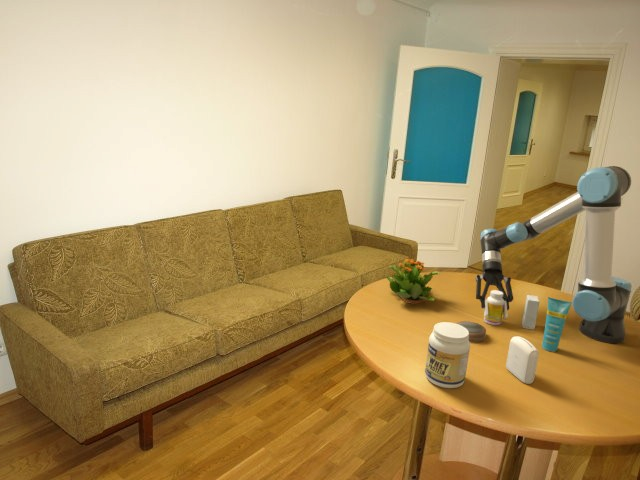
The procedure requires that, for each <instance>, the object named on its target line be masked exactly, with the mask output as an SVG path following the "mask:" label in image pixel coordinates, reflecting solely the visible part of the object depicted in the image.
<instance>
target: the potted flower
mask: <svg viewBox="0 0 640 480" xmlns="http://www.w3.org/2000/svg"><path fill="white" fill-rule="evenodd" d="M424 264H425V263H424V262H422V261H420V260H417V261H415V259H413V258H411V259H408V258H407V259H404V262H403V263H398V266H397V265H396V264H393V265H391V264H389V266H388V269H391V270H394V271H395V272H396V273H395V274H392V275H391V277H389V276H388V275H386V274H385V275H384V276H385V278H386V280H387V281H389V288H390V290H391V291H392V292H393V293H395V294H396V295H397V296H398V297H400V298H401V299H402V301H404V302H406V301H407V303H409V302H410V304H419V303H422V302H423V301H435V297H433V296H432V295H430V296H428V297H425V296H427V295H428V294H430V292H431V291H432V289H433V288H432V287H431V286H427V284H429V282H431V280H432V279H433V277H434V276H435V275H440V274H441V272H440V271H438V270H435V271H433V272H430V273H428V274H424V275H422V274H421V273H424V271H425V270H426V268H425V265H424ZM402 269H403V270H402Z"/></svg>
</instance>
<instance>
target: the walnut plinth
mask: <svg viewBox="0 0 640 480" xmlns="http://www.w3.org/2000/svg"><path fill="white" fill-rule="evenodd" d="M455 324H459V325H461V326H463V327H465V328H466V329H467V330H468V331H469V339H468V340H469V342H470V343H481V342H483V341H485V339H486V333H487V329H486V327H485V326H484V325H482V324H481V323H477V322H473V321H470V320H469V321H467V320H464V321H462V320H461V321H458V322H456V323H455Z"/></svg>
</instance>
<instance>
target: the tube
mask: <svg viewBox="0 0 640 480" xmlns="http://www.w3.org/2000/svg"><path fill="white" fill-rule="evenodd" d="M571 306H572V301H568V300H562V299H558V298H553V297H549V296H547V308H546V316H545V317H546V318H545V324H544V331H543V338H542V343H541V344H542V345H541V346H542V349H544V350H545V351H547V352H553V353H555V352H557V350H558V348H559V343H560V340H561V336H562V334H563V330H564V327H565V323H566V320H567V318H568V314H569V311H570V308H571Z"/></svg>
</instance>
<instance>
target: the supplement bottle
mask: <svg viewBox="0 0 640 480" xmlns="http://www.w3.org/2000/svg"><path fill="white" fill-rule="evenodd" d="M502 297H503V292H501V291H499V290H496V289H492V290H491V291H490V294H489V296H488V297H487V298H486V299H487V303H488V316H487V317H484V316H483V321H484V323H486V324H488V325H492V326H499V325H501V324H502V322H503V321H502V320H503V309H504V303H505V301H504V299H503V298H502Z"/></svg>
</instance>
